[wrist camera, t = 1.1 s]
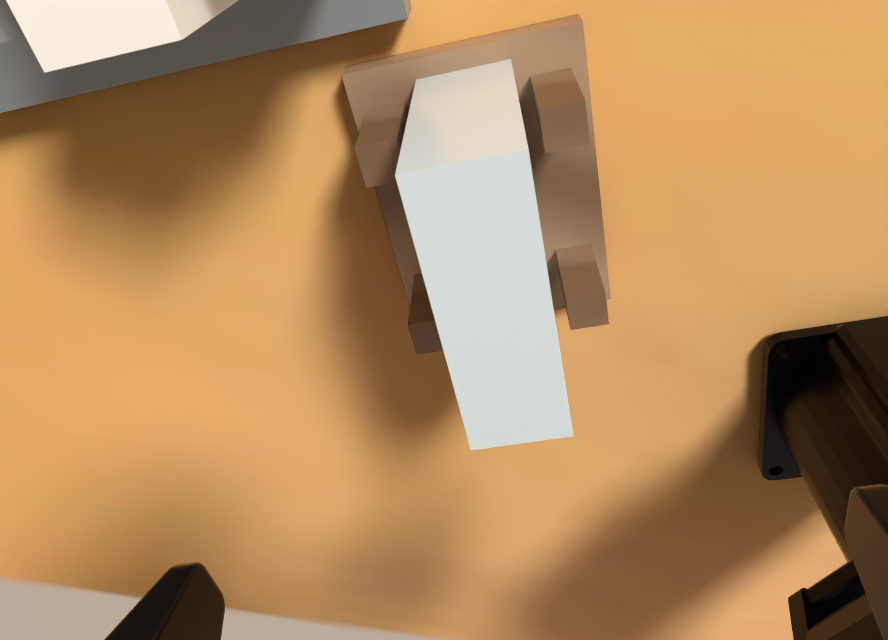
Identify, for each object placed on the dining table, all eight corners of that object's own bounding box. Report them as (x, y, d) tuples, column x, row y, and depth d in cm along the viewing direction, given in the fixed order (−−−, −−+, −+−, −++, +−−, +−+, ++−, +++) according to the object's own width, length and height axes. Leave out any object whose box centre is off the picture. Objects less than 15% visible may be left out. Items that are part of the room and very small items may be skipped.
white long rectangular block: (548, 295, 21) (573, 436, 16) (470, 308, 21) (470, 450, 16) (510, 58, 17) (528, 148, 12) (415, 79, 17) (394, 175, 12)
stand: (606, 284, 21) (626, 351, 19) (418, 315, 22) (411, 384, 20) (578, 14, 17) (599, 48, 14) (345, 66, 18) (323, 108, 15)
